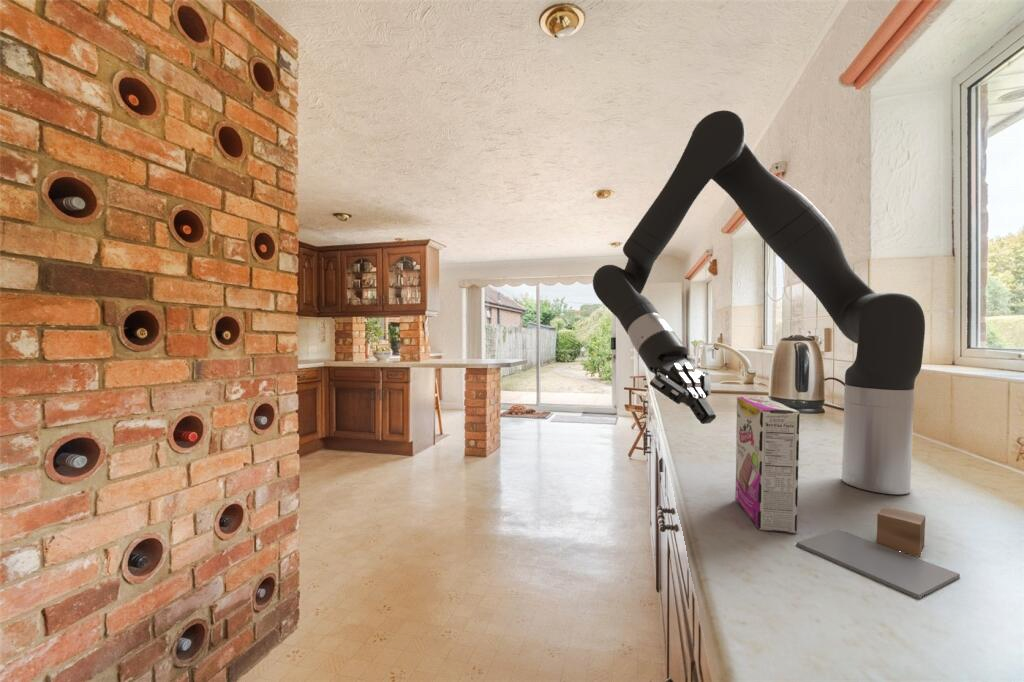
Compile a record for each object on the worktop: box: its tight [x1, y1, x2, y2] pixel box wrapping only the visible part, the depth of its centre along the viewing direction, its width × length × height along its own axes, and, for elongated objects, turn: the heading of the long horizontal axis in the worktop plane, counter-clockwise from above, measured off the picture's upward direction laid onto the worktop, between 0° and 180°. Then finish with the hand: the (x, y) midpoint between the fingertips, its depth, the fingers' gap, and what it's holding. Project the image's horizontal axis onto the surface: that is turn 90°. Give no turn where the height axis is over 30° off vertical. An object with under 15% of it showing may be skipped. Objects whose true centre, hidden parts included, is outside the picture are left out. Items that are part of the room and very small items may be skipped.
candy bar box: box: [734, 396, 801, 534], centre depth 63 cm, size 11×5×16 cm, turn 168°
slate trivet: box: [795, 528, 960, 599], centre depth 52 cm, size 9×12×1 cm
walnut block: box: [875, 505, 926, 558], centre depth 55 cm, size 4×4×4 cm
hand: (709, 420), depth 72 cm, fingers closed
